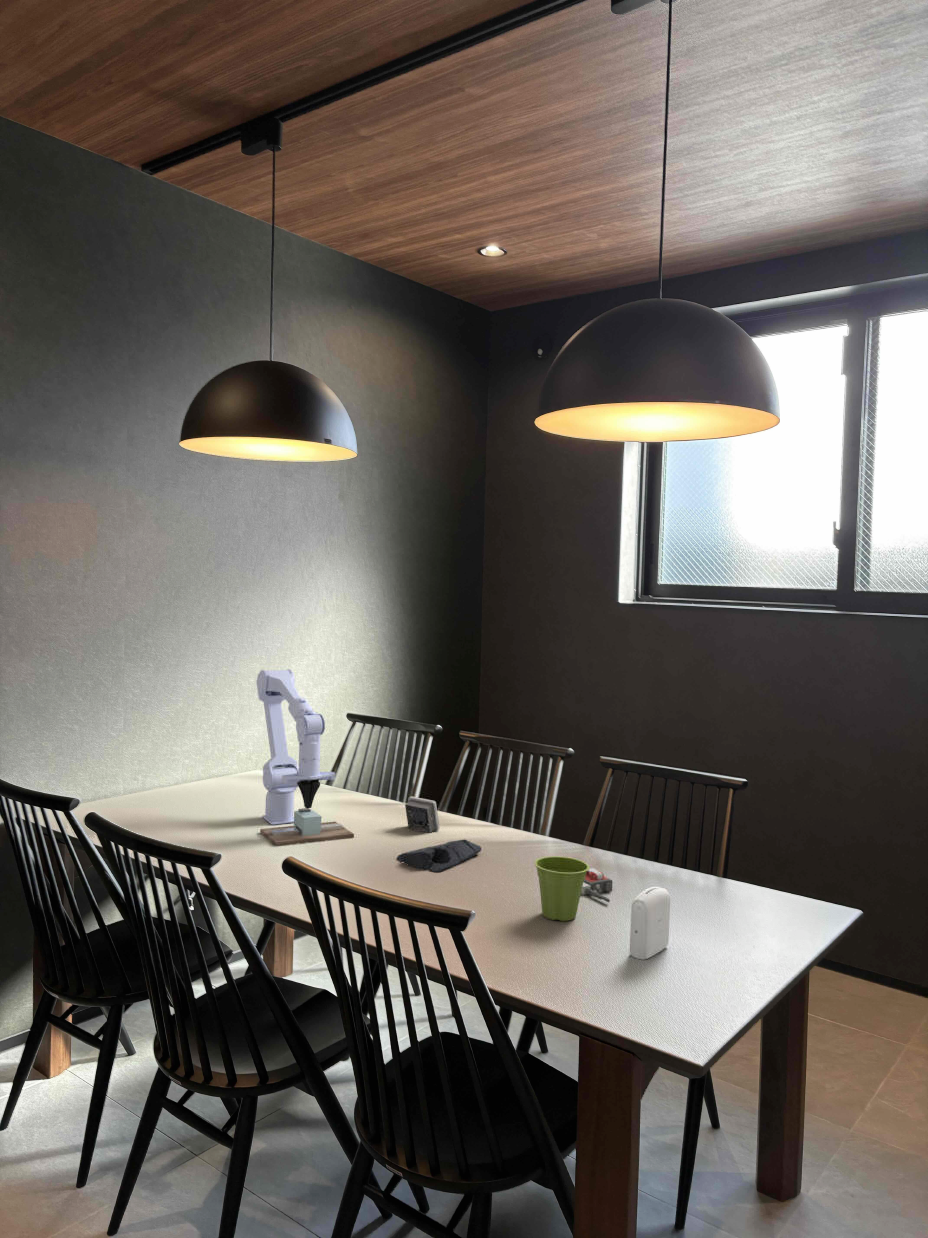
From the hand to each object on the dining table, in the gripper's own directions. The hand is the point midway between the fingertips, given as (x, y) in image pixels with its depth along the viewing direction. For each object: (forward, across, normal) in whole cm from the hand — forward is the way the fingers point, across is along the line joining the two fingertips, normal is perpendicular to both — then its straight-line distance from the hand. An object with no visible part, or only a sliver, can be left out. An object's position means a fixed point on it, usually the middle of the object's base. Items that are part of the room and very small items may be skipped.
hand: (307, 807), depth 249 cm
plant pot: (+8, +29, -79) cm, 85 cm away
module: (+7, 0, 0) cm, 7 cm away
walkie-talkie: (+8, +46, -68) cm, 83 cm away
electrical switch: (+8, +32, -7) cm, 34 cm away
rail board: (+8, 0, 0) cm, 8 cm away
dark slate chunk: (+8, +25, -33) cm, 42 cm away
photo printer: (+8, +34, -102) cm, 108 cm away
